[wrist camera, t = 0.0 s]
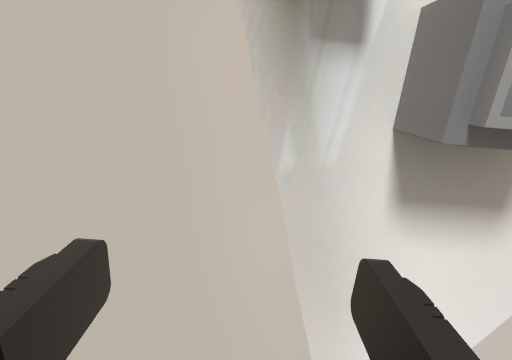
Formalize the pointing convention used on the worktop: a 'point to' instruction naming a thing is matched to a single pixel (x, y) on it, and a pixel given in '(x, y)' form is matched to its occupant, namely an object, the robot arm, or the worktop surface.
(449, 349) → the robot arm
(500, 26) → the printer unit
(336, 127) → the worktop surface
